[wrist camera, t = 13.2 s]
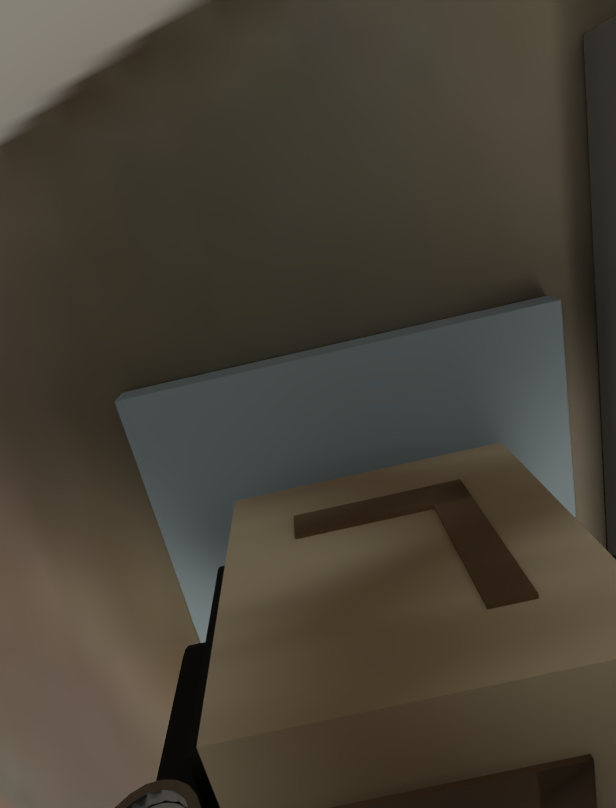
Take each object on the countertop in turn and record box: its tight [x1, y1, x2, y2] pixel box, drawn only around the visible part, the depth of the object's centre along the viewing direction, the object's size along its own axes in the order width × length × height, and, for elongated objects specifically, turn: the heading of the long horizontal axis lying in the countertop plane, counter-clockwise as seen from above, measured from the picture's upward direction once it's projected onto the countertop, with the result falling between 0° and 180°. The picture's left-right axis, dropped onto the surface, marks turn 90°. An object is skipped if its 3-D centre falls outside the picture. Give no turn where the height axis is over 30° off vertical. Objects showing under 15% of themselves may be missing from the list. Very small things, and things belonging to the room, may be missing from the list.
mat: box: [114, 296, 576, 643], centre depth 13 cm, size 9×9×1 cm
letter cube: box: [196, 442, 616, 808], centre depth 9 cm, size 5×5×5 cm
